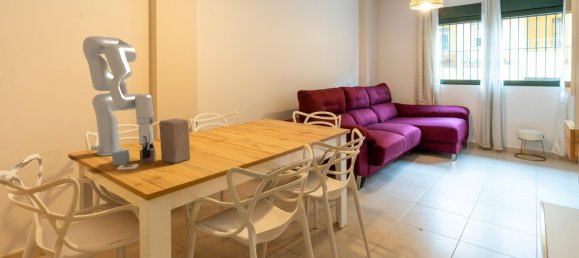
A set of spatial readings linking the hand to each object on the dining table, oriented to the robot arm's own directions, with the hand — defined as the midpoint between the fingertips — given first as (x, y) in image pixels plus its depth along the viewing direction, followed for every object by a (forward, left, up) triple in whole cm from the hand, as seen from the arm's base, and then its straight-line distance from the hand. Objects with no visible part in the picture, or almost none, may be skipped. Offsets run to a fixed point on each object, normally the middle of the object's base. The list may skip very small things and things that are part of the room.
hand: (148, 155), depth 156 cm
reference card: (-7, -8, -3) cm, 11 cm away
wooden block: (+13, -1, -3) cm, 13 cm away
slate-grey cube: (-12, 0, -3) cm, 13 cm away
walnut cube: (0, 0, -3) cm, 3 cm away
